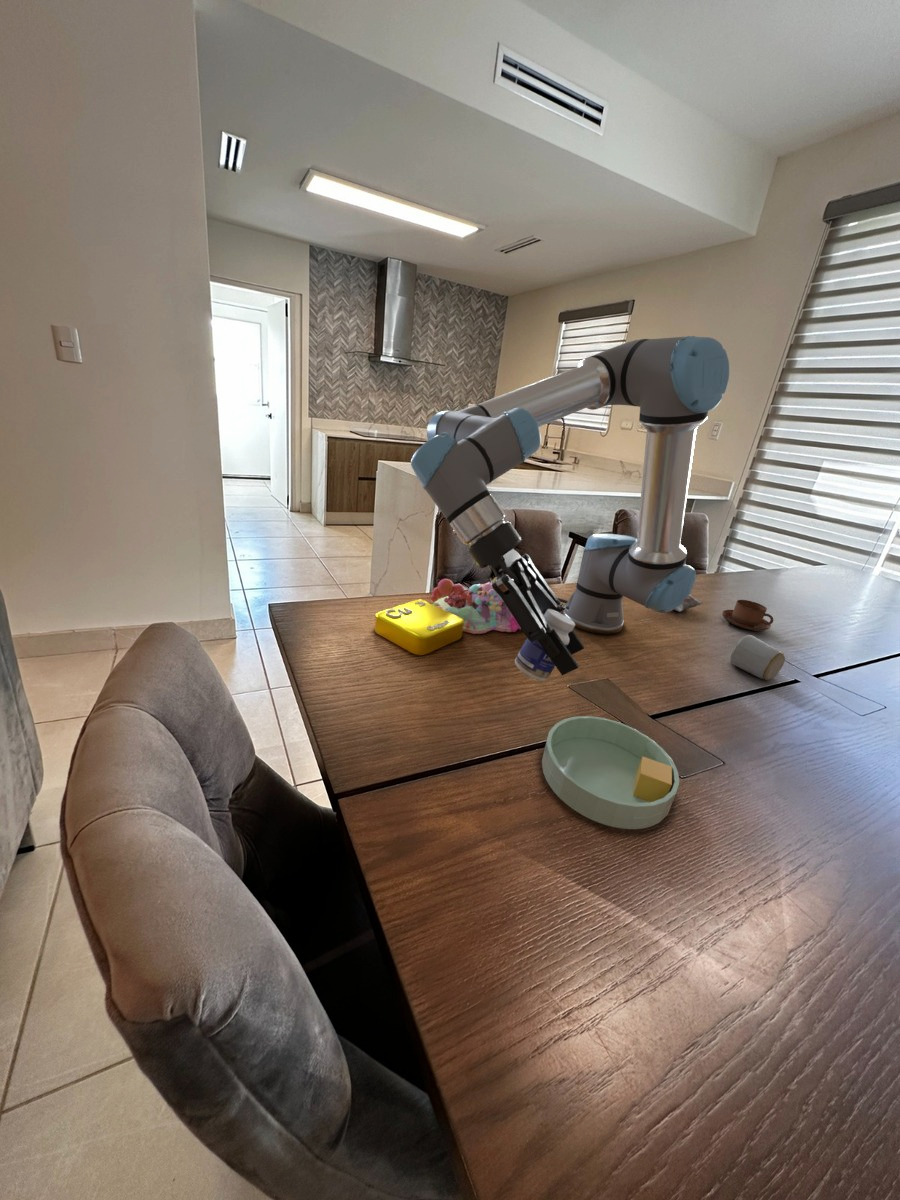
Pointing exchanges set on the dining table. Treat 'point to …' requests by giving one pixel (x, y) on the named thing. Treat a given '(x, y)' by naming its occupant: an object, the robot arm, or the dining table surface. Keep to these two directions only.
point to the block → (652, 780)
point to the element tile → (418, 626)
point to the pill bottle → (533, 654)
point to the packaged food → (688, 603)
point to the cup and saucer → (748, 616)
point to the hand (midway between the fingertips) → (573, 660)
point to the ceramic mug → (757, 658)
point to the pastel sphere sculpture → (475, 607)
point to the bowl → (604, 771)
